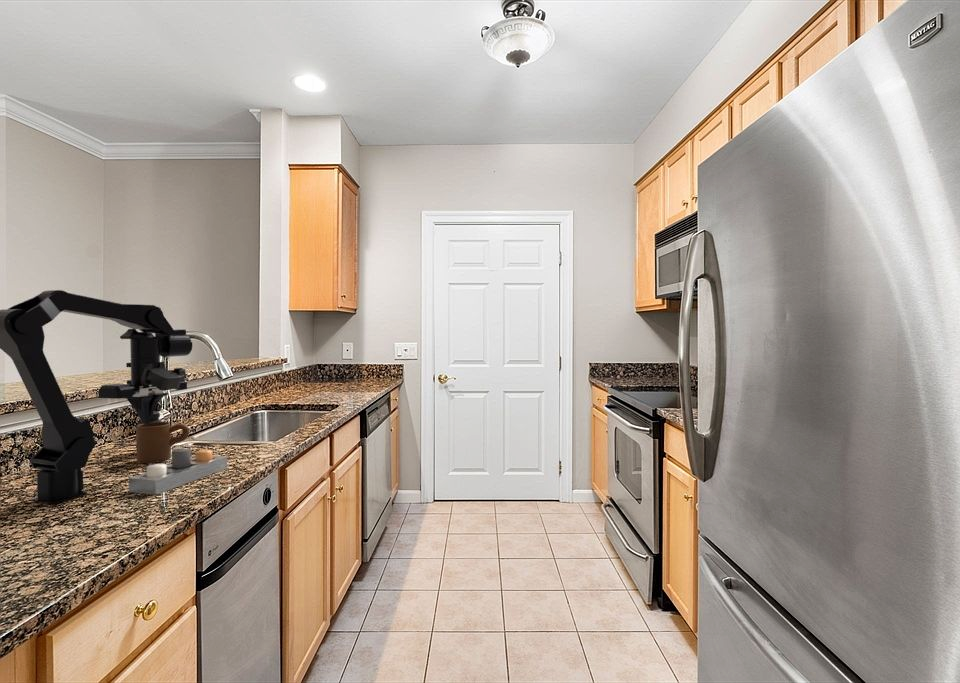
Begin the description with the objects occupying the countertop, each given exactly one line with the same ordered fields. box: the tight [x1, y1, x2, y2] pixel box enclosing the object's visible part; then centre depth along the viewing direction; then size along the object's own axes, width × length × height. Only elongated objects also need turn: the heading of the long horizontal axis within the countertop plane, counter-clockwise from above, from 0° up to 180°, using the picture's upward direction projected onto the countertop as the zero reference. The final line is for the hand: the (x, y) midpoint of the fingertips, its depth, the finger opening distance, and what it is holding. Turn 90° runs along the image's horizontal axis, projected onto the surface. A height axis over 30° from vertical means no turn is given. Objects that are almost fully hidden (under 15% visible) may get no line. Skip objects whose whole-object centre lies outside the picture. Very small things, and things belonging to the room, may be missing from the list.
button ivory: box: [146, 463, 168, 478], centre depth 107 cm, size 4×4×4 cm
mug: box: [135, 421, 190, 464], centre depth 131 cm, size 12×8×9 cm, turn 112°
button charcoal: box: [171, 448, 192, 470], centre depth 113 cm, size 4×4×4 cm
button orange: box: [194, 449, 213, 462], centre depth 119 cm, size 4×4×4 cm
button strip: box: [128, 454, 228, 496], centre depth 113 cm, size 20×7×3 cm, turn 166°
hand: (146, 423), depth 117 cm, fingers closed
